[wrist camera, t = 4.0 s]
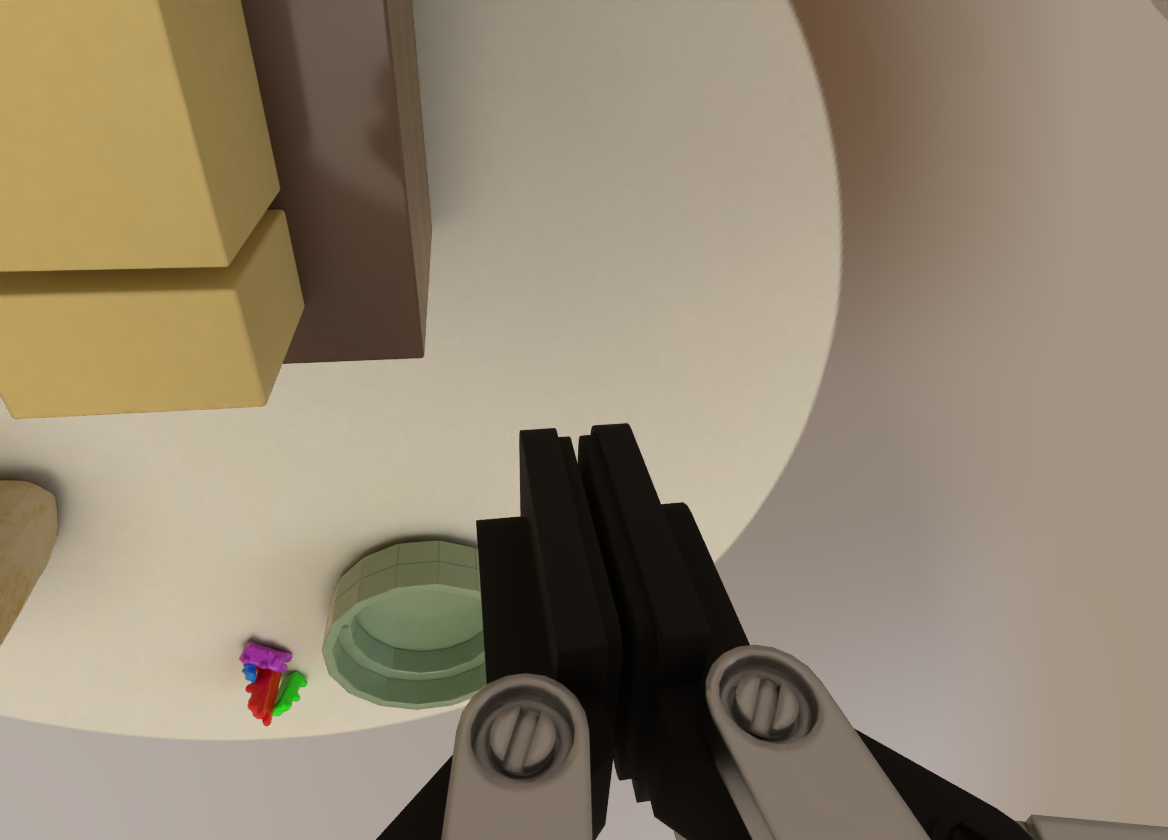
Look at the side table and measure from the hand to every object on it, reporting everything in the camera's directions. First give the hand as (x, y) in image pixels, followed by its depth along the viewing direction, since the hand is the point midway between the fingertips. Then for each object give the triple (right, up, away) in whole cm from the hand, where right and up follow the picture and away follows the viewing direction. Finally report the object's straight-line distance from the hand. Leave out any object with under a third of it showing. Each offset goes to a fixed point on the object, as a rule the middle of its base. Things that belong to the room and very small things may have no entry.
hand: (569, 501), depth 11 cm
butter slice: (-9, +5, +5) cm, 11 cm away
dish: (-9, -9, +27) cm, 30 cm away
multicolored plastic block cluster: (-18, -12, +28) cm, 36 cm away
